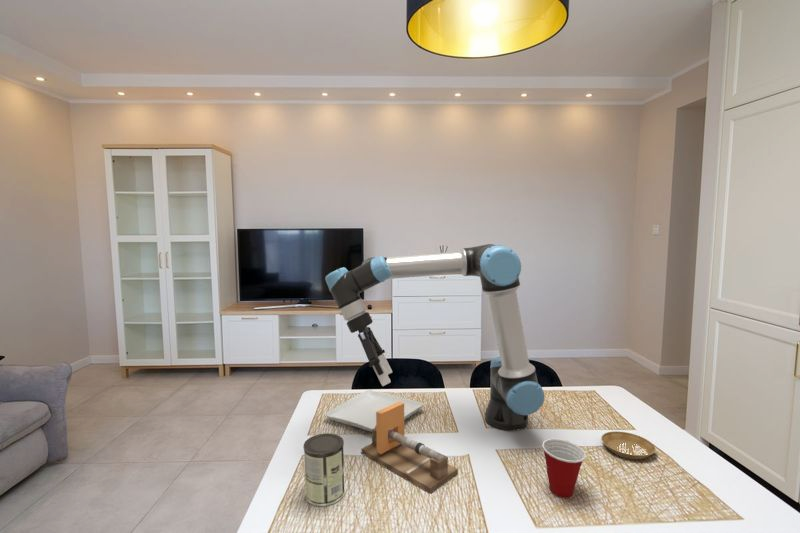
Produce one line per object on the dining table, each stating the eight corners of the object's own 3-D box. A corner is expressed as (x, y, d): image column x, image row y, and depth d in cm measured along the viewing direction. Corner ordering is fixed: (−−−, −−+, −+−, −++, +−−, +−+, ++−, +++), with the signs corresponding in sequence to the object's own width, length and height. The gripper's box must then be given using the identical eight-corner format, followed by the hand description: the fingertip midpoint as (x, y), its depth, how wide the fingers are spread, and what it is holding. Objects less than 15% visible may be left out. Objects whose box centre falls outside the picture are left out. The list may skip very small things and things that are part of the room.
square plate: (425, 411, 158) (425, 402, 158) (384, 443, 135) (384, 432, 135) (368, 396, 172) (368, 387, 172) (322, 423, 150) (322, 412, 149)
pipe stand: (361, 453, 129) (360, 428, 128) (389, 438, 137) (388, 415, 137) (430, 493, 109) (430, 464, 108) (457, 473, 118) (458, 447, 117)
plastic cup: (589, 507, 104) (591, 461, 102) (543, 501, 106) (545, 457, 105) (579, 481, 114) (581, 439, 113) (538, 476, 116) (539, 435, 115)
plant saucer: (594, 451, 129) (594, 443, 129) (609, 434, 140) (609, 426, 140) (648, 470, 119) (648, 461, 119) (659, 449, 130) (660, 441, 130)
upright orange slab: (376, 451, 125) (376, 411, 124) (399, 439, 132) (399, 401, 131) (381, 454, 124) (380, 413, 122) (404, 441, 131) (404, 403, 130)
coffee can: (317, 478, 116) (316, 430, 115) (351, 486, 113) (350, 436, 111) (297, 501, 106) (295, 449, 105) (333, 510, 103) (331, 456, 102)
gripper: (351, 318, 140) (379, 375, 139) (339, 325, 115) (373, 395, 114) (371, 308, 140) (399, 365, 139) (363, 313, 115) (397, 382, 114)
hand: (387, 378), depth 127 cm, fingers open, 13 cm apart
